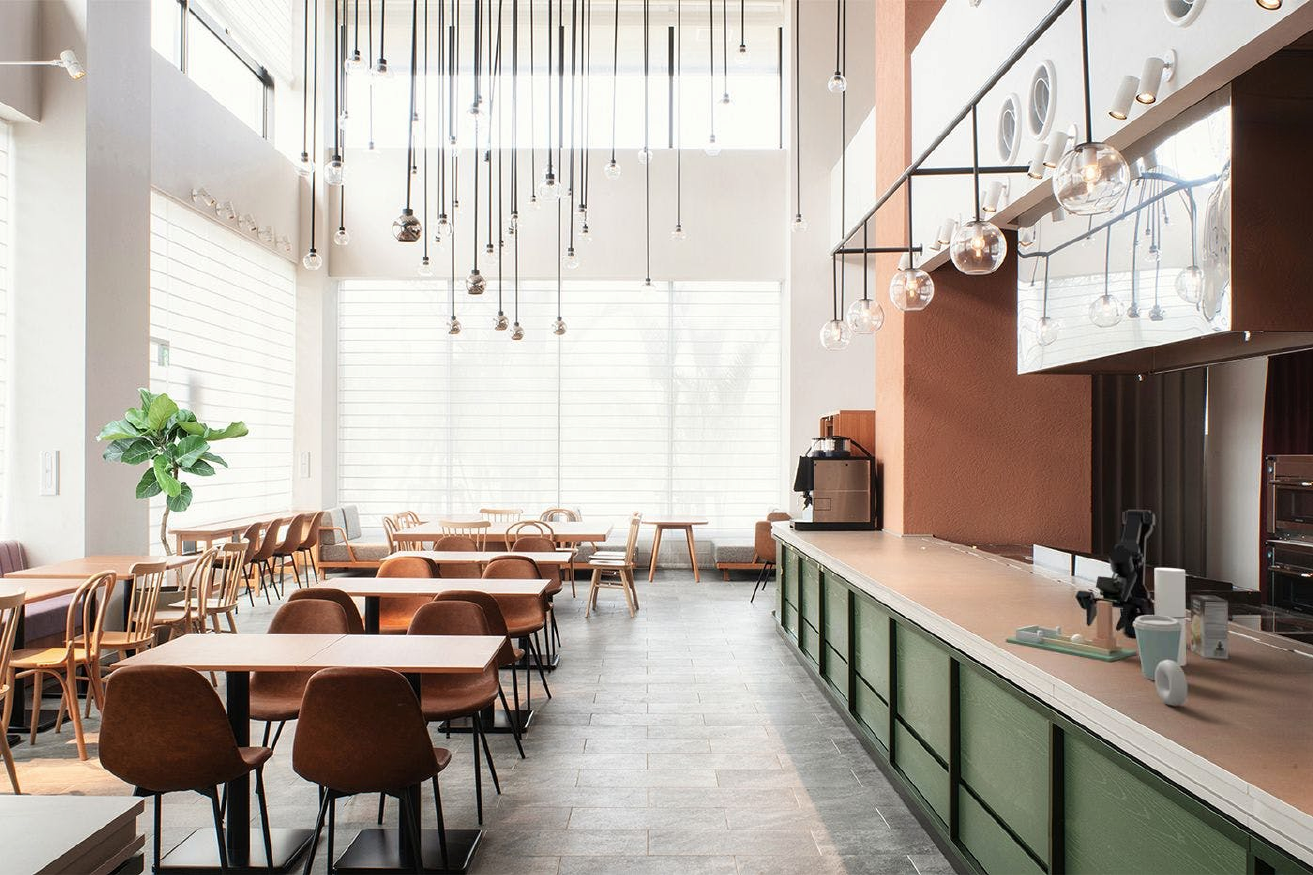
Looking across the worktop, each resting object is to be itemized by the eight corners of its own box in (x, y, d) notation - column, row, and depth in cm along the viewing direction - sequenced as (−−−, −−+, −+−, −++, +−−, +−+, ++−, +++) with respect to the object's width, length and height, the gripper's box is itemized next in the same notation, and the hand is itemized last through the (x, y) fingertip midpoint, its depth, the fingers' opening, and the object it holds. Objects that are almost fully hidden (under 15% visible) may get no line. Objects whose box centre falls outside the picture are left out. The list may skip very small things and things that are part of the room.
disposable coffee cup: (1182, 686, 205) (1182, 623, 205) (1131, 679, 210) (1131, 619, 211) (1182, 676, 214) (1182, 617, 214) (1133, 670, 219) (1133, 612, 220)
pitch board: (1034, 635, 262) (1034, 627, 262) (1136, 653, 238) (1136, 645, 238) (1006, 641, 253) (1006, 633, 253) (1109, 661, 229) (1109, 653, 229)
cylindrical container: (1175, 666, 224) (1175, 571, 224) (1149, 661, 230) (1148, 568, 230) (1191, 664, 227) (1191, 570, 227) (1165, 658, 233) (1164, 567, 234)
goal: (1036, 634, 260) (1036, 622, 260) (1062, 639, 253) (1062, 627, 253) (1015, 639, 253) (1015, 627, 253) (1041, 644, 246) (1041, 631, 246)
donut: (1152, 698, 194) (1151, 654, 194) (1167, 699, 194) (1167, 655, 194) (1174, 711, 184) (1173, 665, 184) (1191, 712, 184) (1190, 666, 184)
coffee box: (1189, 650, 243) (1189, 594, 243) (1214, 651, 242) (1214, 595, 242) (1203, 658, 234) (1203, 599, 234) (1229, 659, 233) (1229, 600, 233)
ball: (1083, 645, 245) (1083, 633, 245) (1086, 648, 241) (1086, 635, 241) (1070, 644, 246) (1069, 632, 246) (1072, 647, 242) (1072, 635, 242)
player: (1103, 647, 241) (1103, 600, 241) (1116, 650, 238) (1116, 601, 238) (1093, 650, 237) (1092, 602, 237) (1105, 652, 234) (1105, 603, 235)
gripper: (1078, 562, 248) (1058, 604, 241) (1146, 569, 233) (1127, 614, 226) (1091, 587, 252) (1073, 628, 246) (1159, 595, 237) (1141, 640, 231)
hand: (1102, 627), depth 237 cm, fingers open, 8 cm apart
